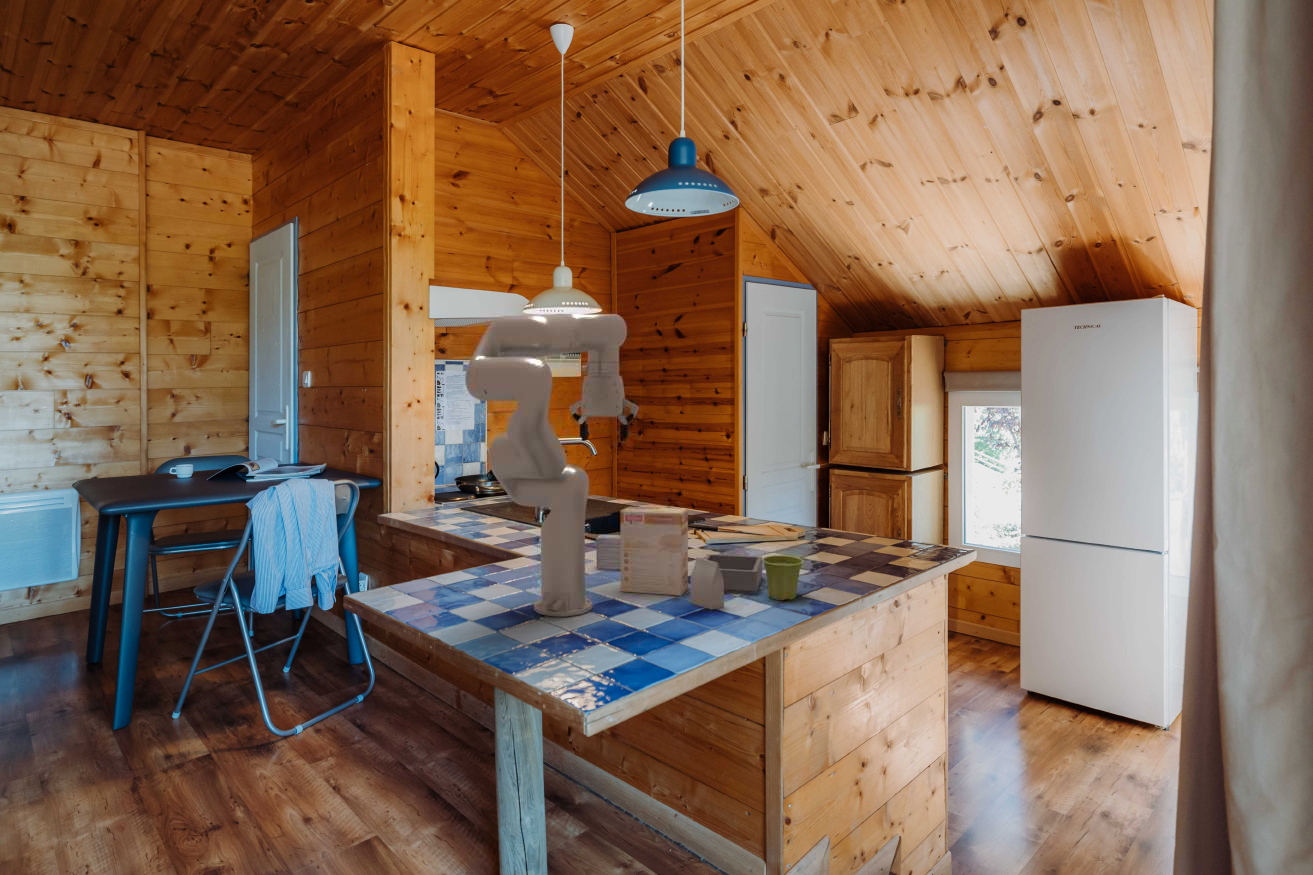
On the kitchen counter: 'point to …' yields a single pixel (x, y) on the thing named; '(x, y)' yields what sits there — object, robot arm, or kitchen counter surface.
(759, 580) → the walled box
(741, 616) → the kitchen counter surface
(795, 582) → the plant pot
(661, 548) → the coffeecake box
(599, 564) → the medicine box
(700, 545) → the kitchen counter surface
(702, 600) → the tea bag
